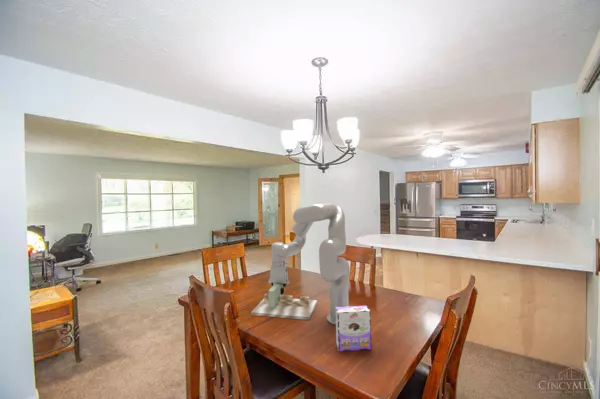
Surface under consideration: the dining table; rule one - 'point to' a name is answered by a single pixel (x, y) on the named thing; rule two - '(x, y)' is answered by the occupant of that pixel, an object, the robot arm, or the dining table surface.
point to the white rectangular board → (286, 307)
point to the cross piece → (274, 294)
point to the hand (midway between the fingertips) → (279, 293)
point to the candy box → (353, 328)
